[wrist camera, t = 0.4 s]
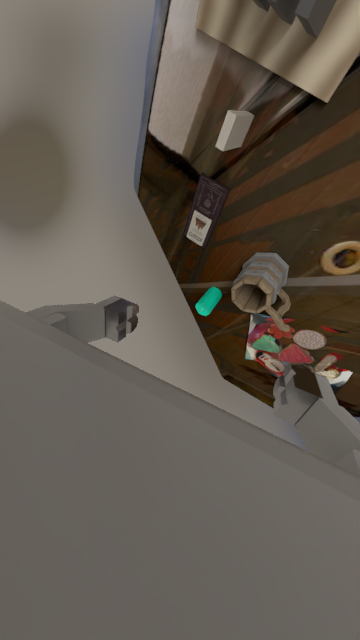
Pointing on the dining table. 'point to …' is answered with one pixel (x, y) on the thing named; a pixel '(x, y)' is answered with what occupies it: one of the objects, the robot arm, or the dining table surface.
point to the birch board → (288, 41)
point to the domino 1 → (234, 129)
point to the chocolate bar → (205, 210)
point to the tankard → (262, 286)
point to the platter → (292, 350)
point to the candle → (208, 301)
